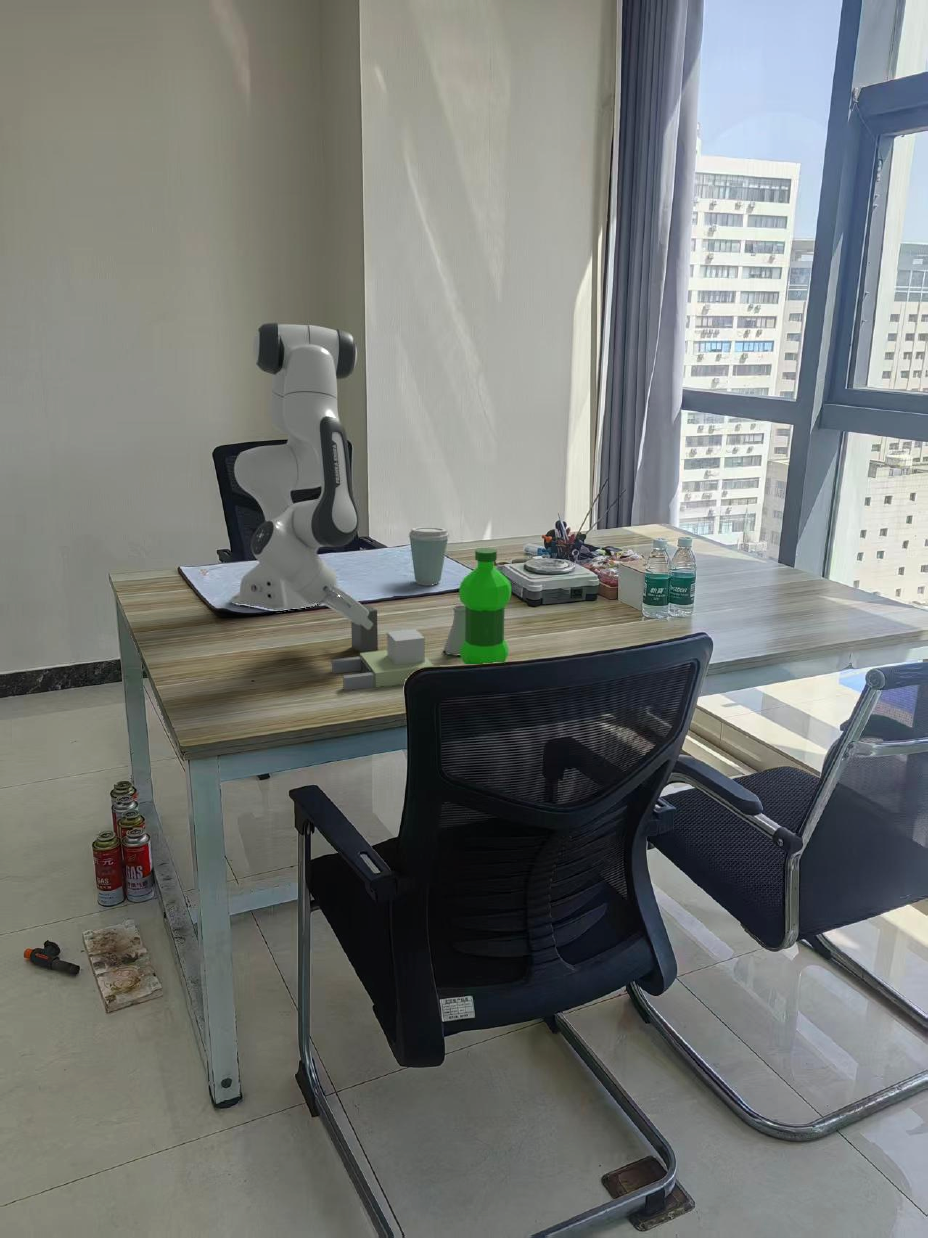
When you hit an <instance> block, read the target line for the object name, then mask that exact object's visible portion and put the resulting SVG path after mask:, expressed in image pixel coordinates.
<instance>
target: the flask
mask: <svg viewBox="0 0 928 1238" xmlns="http://www.w3.org/2000/svg"><path fill="white" fill-rule="evenodd" d="M452 610H453V620H452V625H451V628H450V630H449V634H448V636H447V639H446V641H445V643H444V644H445V645H444V647H443V650H444V651H446V652H447V653H449V654H460V650H461V648H462V645H463V643H464V641H465V615H466V606H465V605H464V604H456V605H455V604H454V605H453V606H452ZM446 652H445V653H446ZM447 653H446V654H447Z"/></svg>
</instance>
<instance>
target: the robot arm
mask: <svg viewBox="0 0 928 1238" xmlns="http://www.w3.org/2000/svg"><path fill="white" fill-rule="evenodd" d="M252 353H253V357H254V359H255V363H256V364H255V365H256V366H257V367H258V368H259V369H260V370H261V371H263V372H264V373H268V374H271V375H272V380H271V389H270V399H269V407H268V409H269V411H268V418H269V421H270V424H271V425H272V426H273V428H274V429H275V430H277V431H278V432H280V433H281V434H284V436H285V435H286V436H287V442H286V443H284V444H277V445H276V444H275V445H263V446H256V447H253V448H250V449H246V450H244V451H241V452H239V454H238V455H237V458H236V460H235V462H234V467H233V472H234V478H235V480H236V482H237V484H238V486H239V487H240V488H241V489H242V490H243V491H245V492H246V493H248V494H249V495H251V497H253V498H254V499H255V501H256V502H257V503H258V505H259V506H260V508H261V510H262V512H263V513H262V514H263V516H264V522H263V523H261V524H260V525H259V526H258V527H257V529H256V530H255V532H254V533H253V535H252V538H251V542H250V549H251V551H252V554H253V556H254V558H255V559H256V560H257V561H258V562H259V563H257V564H256V565H255V566H253V568H252V569H250V570H249V571H248V572H246V574H244V575H243V577H242V578H241V581H240V586H239V591H238V592H236V593H235V594H234V595H233V596H232V597H231V599H230V602H231V601H232V602H234V603H238V604H247V605H250V606H259V607H264V608H267V609H273V610H278V611H280V610H284V609H293V608H301V607H305V609H307V608H306V607H310V606H313V607H316V606H318V605H322V604H323V605H324V606H326V607H328V608H330V610H333V611H334V612H335V613H337V614H339V615H340V616H342V617H344V618H345V619H347V620H349V621H350V622H351V621H352V622H354V623H355V624H357V625H362V626H363V627H364V628H366V629H367V630H369V629H370V628H371V627H372V626H373V623H372V622H371V621H370V620H369V619H368V618H367V616H368V615H369V612H368V610H367V609H366V608H365V607H364V605H362V603H360V602H359V601H357V600H356V598H354V597H353V596H351V595H350V594H349V593H348V592H346V591H345V590H342V589H341V588H340V587H339V583H338V580H337V579H338V575H337V574H338V573H337V572H336V570H334V569H333V567H331V566H330V565H329V564H328V563H327V562H325V561H324V560H323V559H322V558H321V557H319V555H318V551H319V548H323V547H328V548H330V547H331V548H333V547H334V548H335V547H338V548H339V547H340V548H341V547H345V546H347V545H348V544H350V543H351V542H352V541H353V540H354V539H355V537H356V535H357V533H358V531H359V527H360V526H359V525H360V517H359V511H358V508H357V507H358V506H357V504H356V502H355V497H354V491H353V483H352V482H353V481H352V473H351V461H350V453H349V446H348V445H349V443H348V437H347V431H346V429H345V426H344V425H343V422H341V421H340V416H339V409H338V382H337V380H342V379H343V380H344V379H346V378H348V377H349V376H351V374H353V372H354V368H355V366H356V364H357V360H358V349H357V345H356V340H355V338H354V337H353V335H352V334H351V333H350V332H347V331H344V330H342V329H340V328H339V329H338V328H337V329H336V330H335V329H332V328H329V327H324V326H320V325H319V326H318V325H313V324H307V325H306V324H305V325H304V324H292V323H291V324H290V323H288V324H286V323H285V324H284V323H282V324H280V323H279V324H278V322H269V323H264V324H262V325H261V326H259V328H258V329H257V332H256V334H255V336H254V339H253V341H252ZM319 487H320V488H321V493H320V495H319V496H318V498H317V499H311V500H310V499H309V500H305V501H303V500H302V501H299V502H295V503H294V502H293V500H292V496H291V492H292V491H298V490H308V489H316V488H319ZM317 604H318V605H317ZM315 605H316V606H315ZM310 608H311V607H310Z"/></svg>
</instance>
